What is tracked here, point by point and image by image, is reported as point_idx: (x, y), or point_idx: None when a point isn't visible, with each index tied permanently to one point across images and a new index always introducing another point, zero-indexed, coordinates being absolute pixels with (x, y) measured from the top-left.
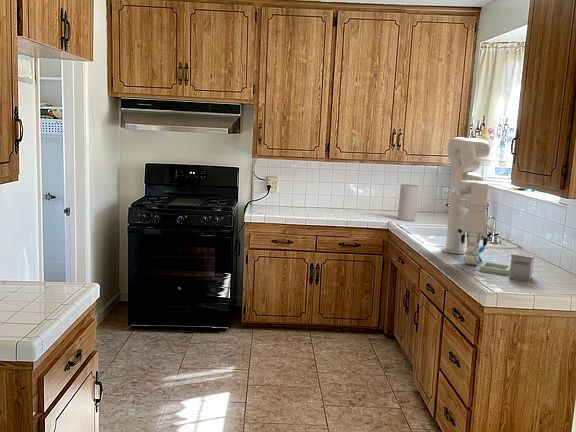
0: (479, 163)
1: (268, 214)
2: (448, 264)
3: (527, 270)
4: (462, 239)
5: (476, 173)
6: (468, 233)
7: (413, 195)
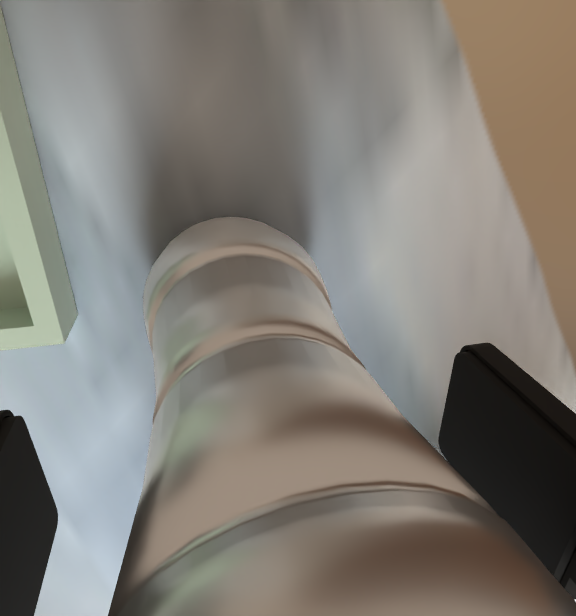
0: None
1: None
2: (443, 57)
3: None
4: (537, 393)
5: None
6: (554, 591)
7: None
